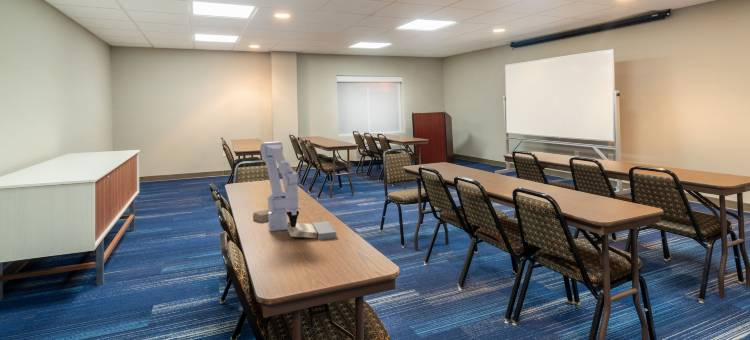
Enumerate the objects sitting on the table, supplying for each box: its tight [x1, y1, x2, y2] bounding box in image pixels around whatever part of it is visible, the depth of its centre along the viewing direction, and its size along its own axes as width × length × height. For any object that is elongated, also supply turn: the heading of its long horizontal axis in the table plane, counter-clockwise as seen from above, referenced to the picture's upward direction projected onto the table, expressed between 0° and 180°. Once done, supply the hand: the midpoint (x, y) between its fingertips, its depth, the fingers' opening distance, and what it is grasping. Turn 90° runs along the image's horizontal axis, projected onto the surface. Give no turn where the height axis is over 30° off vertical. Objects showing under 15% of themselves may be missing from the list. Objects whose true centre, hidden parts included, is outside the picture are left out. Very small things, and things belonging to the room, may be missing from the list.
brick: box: [252, 208, 271, 223], centre depth 237 cm, size 17×8×5 cm, turn 139°
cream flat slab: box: [287, 221, 318, 239], centre depth 204 cm, size 12×16×2 cm
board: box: [311, 220, 337, 240], centre depth 207 cm, size 8×20×3 cm, turn 17°
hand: (293, 226), depth 202 cm, fingers closed, pressing on cream flat slab
